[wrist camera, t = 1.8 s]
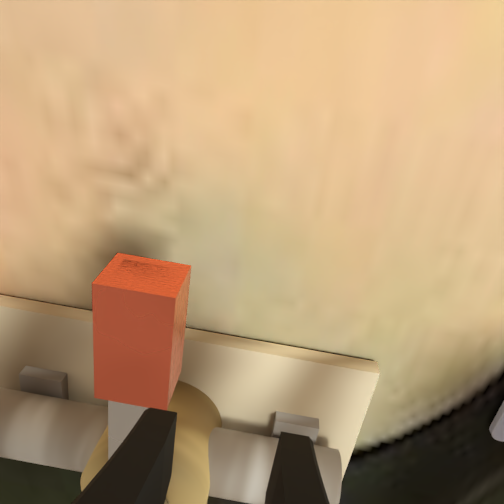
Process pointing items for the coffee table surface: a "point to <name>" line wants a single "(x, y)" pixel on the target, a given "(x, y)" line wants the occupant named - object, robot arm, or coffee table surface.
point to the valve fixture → (180, 404)
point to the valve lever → (137, 338)
